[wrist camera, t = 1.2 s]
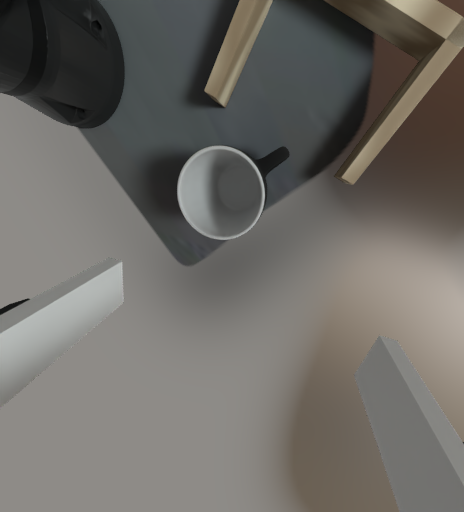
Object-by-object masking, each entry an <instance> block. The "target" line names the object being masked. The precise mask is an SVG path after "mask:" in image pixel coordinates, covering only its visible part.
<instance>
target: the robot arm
mask: <svg viewBox="0 0 464 512" xmlns="http://www.w3.org/2000/svg"><path fill="white" fill-rule="evenodd" d="M123 86H124V59H123V52H122V48H121V44H120V40H119V37H118V34H117V32H116V29H115V27H114V25H113V22H112V21H111V19H110V17H109V15H108V14H107V12H106V11H105V9H104V8H103V6H102V5H101V4H100V3H99V2H98V1H97V0H0V93H4V94H8V95H11V96H14V97H16V98H18V99H19V100H21V101H23V102H24V103H26V104H28V105H30V106H31V107H33V108H35V109H37V110H38V111H40V112H42V113H44V114H45V115H47V116H49V117H51V118H52V119H54V120H56V121H58V122H61V123H63V124H67V125H71V126H76V127H81V128H93V127H96V126H99V125H101V124H103V123H104V122H106V121H107V120H108V119H109V118H110V117H111V116H112V114H113V113H114V112H115V110H116V108H117V106H118V104H119V102H120V99H121V96H122V92H123ZM122 303H123V274H122V261H119V260H116V259H113V258H108V259H106V260H104V261H102V262H100V263H98V264H96V265H94V266H92V267H90V268H89V269H87V270H85V271H83V272H81V273H79V274H77V275H75V276H73V277H72V278H70V279H68V280H66V281H64V282H62V283H60V284H58V285H57V286H55V287H53V288H51V289H49V290H47V291H45V292H43V293H42V294H40V295H38V296H36V297H34V298H32V299H25V300H22V301H18V302H15V303H13V304H9V305H7V306H6V307H4V308H2V309H0V408H1V407H2V406H4V404H6V403H7V402H8V401H9V400H11V399H12V398H13V397H14V396H15V395H16V394H18V393H19V392H20V391H21V390H22V389H23V388H24V387H26V386H27V385H28V384H29V383H30V382H32V381H33V380H34V379H35V378H36V377H37V376H39V374H41V373H42V372H43V371H44V370H46V369H47V368H48V367H49V366H50V365H51V364H52V363H53V362H55V361H56V360H57V359H58V358H59V357H61V356H62V355H63V354H64V353H65V352H66V351H68V350H69V349H70V348H71V347H72V346H73V345H75V344H76V343H77V342H78V341H79V340H81V339H82V338H83V337H84V336H85V335H86V334H88V333H89V332H90V331H91V330H92V329H93V328H94V327H96V326H97V325H98V324H99V323H100V322H101V321H103V320H104V319H105V318H106V317H107V316H108V315H110V314H111V313H112V312H113V311H114V310H115V309H117V308H118V307H119V306H120V305H121V304H122ZM354 376H355V380H356V382H357V385H358V389H359V391H360V394H361V397H362V400H363V403H364V406H365V409H366V412H367V415H368V418H369V421H370V424H371V427H372V430H373V433H374V436H375V439H376V442H377V445H378V448H379V451H380V454H381V457H382V460H383V463H384V466H385V469H386V472H387V475H388V478H389V481H390V484H391V487H392V490H393V493H394V496H395V499H396V502H397V505H398V508H399V511H400V512H464V442H462V441H461V439H460V437H459V436H458V434H457V433H456V431H455V430H454V428H453V427H452V425H451V424H450V422H449V420H448V419H447V417H446V416H445V414H444V413H443V411H442V410H441V408H440V407H439V405H438V403H437V402H436V400H435V399H434V397H433V396H432V394H431V392H430V391H429V389H428V388H427V386H426V385H425V383H424V382H423V380H422V379H421V377H420V376H419V374H418V372H417V371H416V369H415V368H414V366H413V365H412V363H411V361H410V360H409V358H408V357H407V355H406V354H405V352H404V351H403V349H402V348H401V346H400V344H399V343H398V341H396V340H393V339H389V338H386V337H383V336H379V337H378V338H377V340H376V342H375V343H374V345H373V346H372V348H371V350H370V351H369V353H368V354H367V356H366V357H365V359H364V360H363V362H362V363H361V365H360V367H359V368H358V370H357V371H356V373H355V375H354Z"/></svg>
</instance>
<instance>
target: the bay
mask: <svg viewBox="0 0 464 512" xmlns="http://www.w3.org/2000/svg"><path fill="white" fill-rule="evenodd" d="M272 1H273V0H240V1H239V3H238V6H237V8H236V11H235V13H234V16H233V19H232V21H231V24H230V26H229V29H228V31H227V34H226V37H225V39H224V42H223V44H222V47H221V49H220V52H219V54H218V57H217V60H216V62H215V65H214V67H213V70H212V72H211V75H210V77H209V80H208V83H207V85H206V88H205V90H204V91H205V92H206V93H207V94H208V95H209V96H210V97H211V98H212V99H213V100H214V101H215V102H217V103H219V104H220V105H222V106H223V107H225V108H226V105H227V103H228V101H229V99H230V96H231V94H232V92H233V90H234V87H235V85H236V83H237V81H238V78H239V76H240V74H241V71H242V69H243V67H244V65H245V62H246V60H247V58H248V56H249V53H250V51H251V49H252V47H253V44H254V42H255V40H256V38H257V35H258V33H259V31H260V29H261V26H262V24H263V22H264V20H265V17H266V15H267V13H268V11H269V8H270V6H271V4H272ZM324 1H325V2H327V3H329V4H330V5H332V6H333V7H335V8H336V9H338V10H340V11H341V12H343V13H344V14H346V15H347V16H349V17H351V18H352V19H354V20H355V21H357V22H359V23H360V24H362V25H363V26H365V27H366V28H368V29H370V30H371V31H373V32H374V33H376V34H377V35H379V36H381V37H382V38H384V39H385V40H387V41H389V42H390V43H392V44H393V45H395V46H397V47H398V48H400V49H401V50H403V51H404V52H406V53H407V54H409V55H411V56H412V57H414V58H415V59H417V60H419V62H418V63H417V65H416V66H415V68H414V69H413V70H412V72H411V73H410V74H409V76H408V77H407V78H406V80H405V81H404V83H403V84H402V85H401V86H400V88H399V89H398V91H397V92H396V93H395V95H394V96H393V97H392V99H391V100H390V101H389V103H388V104H387V105H386V107H385V108H384V110H383V111H382V112H381V114H380V115H379V116H378V118H377V119H376V120H375V122H374V123H373V124H372V126H371V127H370V129H369V130H368V131H367V132H366V134H365V135H364V136H363V138H362V139H361V140H360V142H359V143H358V144H357V146H356V147H355V149H354V150H353V151H352V153H351V154H350V155H349V157H348V158H347V159H346V161H345V162H344V164H343V165H342V166H341V167H340V169H339V170H338V171H337V173H336V174H335V176H334V177H336V178H338V179H339V180H341V181H342V182H344V183H348V184H352V185H353V184H354V183H355V182H356V180H357V179H358V178H359V177H360V175H361V174H362V173H363V172H364V170H365V169H366V168H367V167H368V165H369V164H370V163H371V162H372V160H373V159H374V158H375V157H376V155H377V154H378V153H379V152H380V150H381V149H382V148H383V146H384V145H385V144H386V143H387V142H388V140H389V139H390V138H391V137H392V135H393V134H394V133H395V131H396V130H397V129H398V128H399V127H400V125H401V124H402V123H403V122H404V120H405V119H406V118H407V117H408V115H409V114H410V113H411V112H412V110H413V109H414V108H415V106H416V105H417V104H418V103H419V101H420V100H421V99H422V98H423V96H424V95H425V94H426V93H427V91H428V90H429V89H430V88H431V86H432V85H433V84H434V83H435V81H436V80H437V79H438V78H439V76H440V75H441V74H442V72H443V71H444V70H445V69H446V68H447V66H448V65H449V64H450V62H451V61H452V60H453V59H454V58H455V56H456V55H457V54H458V53H459V51H460V50H461V49H462V48H463V46H464V17H462V16H461V15H459V14H458V13H456V12H454V11H453V10H451V9H450V8H448V7H446V6H445V5H443V4H442V3H440V2H439V1H437V0H324Z"/></svg>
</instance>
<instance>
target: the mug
mask: <svg viewBox="0 0 464 512" xmlns="http://www.w3.org/2000/svg"><path fill="white" fill-rule="evenodd" d="M288 157H289V151H288V149H287V148H286V147H284V146H283V147H280V148H278V149H277V150H275V151H273V152H272V153H270V154H269V155H267V156H266V157H264V158H262V159H259V160H255V159H253V158H252V157H250V156H249V155H248V154H246V153H244V152H243V151H241V150H239V149H236V148H234V147H230V146H224V145H216V146H210V147H207V148H204V149H202V150H200V151H198V152H196V153H195V154H194V155H192V156H191V157H190V158H189V159H188V161H187V162H186V163H185V165H184V166H183V168H182V170H181V173H180V175H179V179H178V184H177V197H178V202H179V206H180V209H181V211H182V213H183V215H184V217H185V219H186V220H187V221H188V223H189V224H190V225H191V226H192V227H193V228H194V229H195V230H196V231H198V232H199V233H201V234H203V235H205V236H207V237H209V238H213V239H218V240H228V239H233V238H236V237H239V236H241V235H243V234H245V233H246V232H248V231H249V230H250V229H251V228H252V227H253V226H254V225H255V224H256V223H257V221H258V220H259V218H260V216H261V215H262V213H263V210H264V207H265V204H266V199H267V183H266V179H265V177H266V175H267V174H268V173H269V172H270V171H271V170H272V169H274V168H275V167H277V166H278V165H279V164H281V163H282V162H283V161H285V160H286V159H287V158H288Z"/></svg>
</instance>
